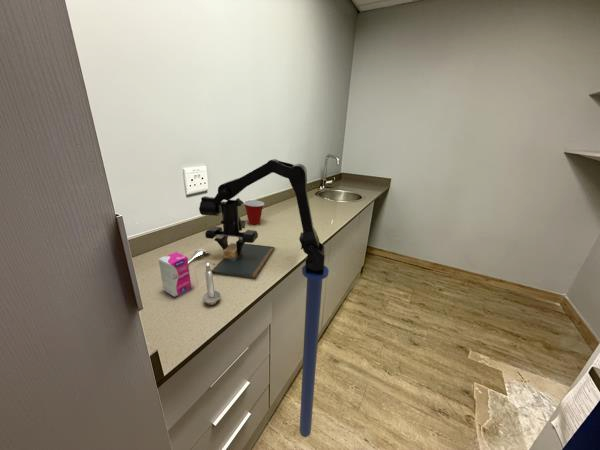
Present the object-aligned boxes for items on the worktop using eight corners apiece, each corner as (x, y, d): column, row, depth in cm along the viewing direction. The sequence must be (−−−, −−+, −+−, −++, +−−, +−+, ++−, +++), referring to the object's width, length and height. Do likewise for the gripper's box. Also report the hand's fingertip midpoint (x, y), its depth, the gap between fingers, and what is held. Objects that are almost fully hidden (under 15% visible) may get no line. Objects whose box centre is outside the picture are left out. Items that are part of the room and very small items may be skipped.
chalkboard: (274, 248, 104) (274, 246, 104) (255, 279, 82) (255, 276, 81) (239, 245, 106) (239, 242, 106) (211, 273, 84) (211, 271, 84)
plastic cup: (263, 227, 128) (262, 205, 124) (242, 226, 128) (241, 204, 124) (266, 220, 138) (265, 200, 134) (247, 219, 138) (246, 199, 134)
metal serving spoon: (167, 268, 79) (157, 265, 81) (168, 278, 80) (158, 274, 82) (211, 248, 97) (202, 245, 98) (211, 256, 98) (203, 253, 99)
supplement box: (175, 298, 71) (169, 264, 67) (163, 291, 74) (157, 258, 70) (192, 288, 76) (187, 256, 72) (180, 282, 79) (175, 251, 75)
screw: (213, 309, 67) (199, 305, 69) (224, 299, 71) (211, 295, 73) (208, 268, 63) (193, 265, 64) (220, 260, 67) (206, 257, 68)
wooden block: (242, 253, 97) (241, 244, 96) (235, 261, 91) (234, 252, 89) (231, 252, 98) (231, 243, 96) (223, 260, 91) (223, 250, 90)
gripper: (262, 212, 94) (262, 248, 100) (217, 208, 97) (220, 243, 103) (251, 221, 84) (253, 261, 89) (202, 216, 87) (206, 255, 92)
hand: (233, 254), depth 94 cm, fingers closed on wooden block, 4 cm apart
